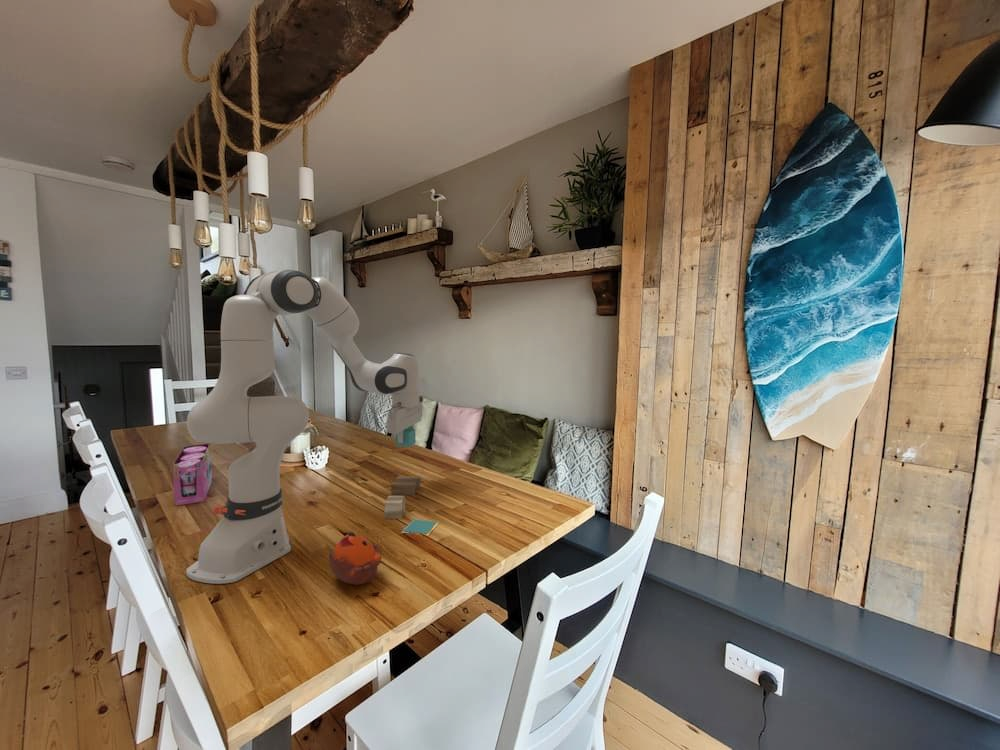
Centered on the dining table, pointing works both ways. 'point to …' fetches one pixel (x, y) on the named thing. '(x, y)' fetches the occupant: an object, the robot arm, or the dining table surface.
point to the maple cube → (394, 506)
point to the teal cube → (407, 438)
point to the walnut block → (405, 485)
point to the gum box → (192, 474)
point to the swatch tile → (419, 526)
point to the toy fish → (355, 559)
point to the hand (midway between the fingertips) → (405, 439)
